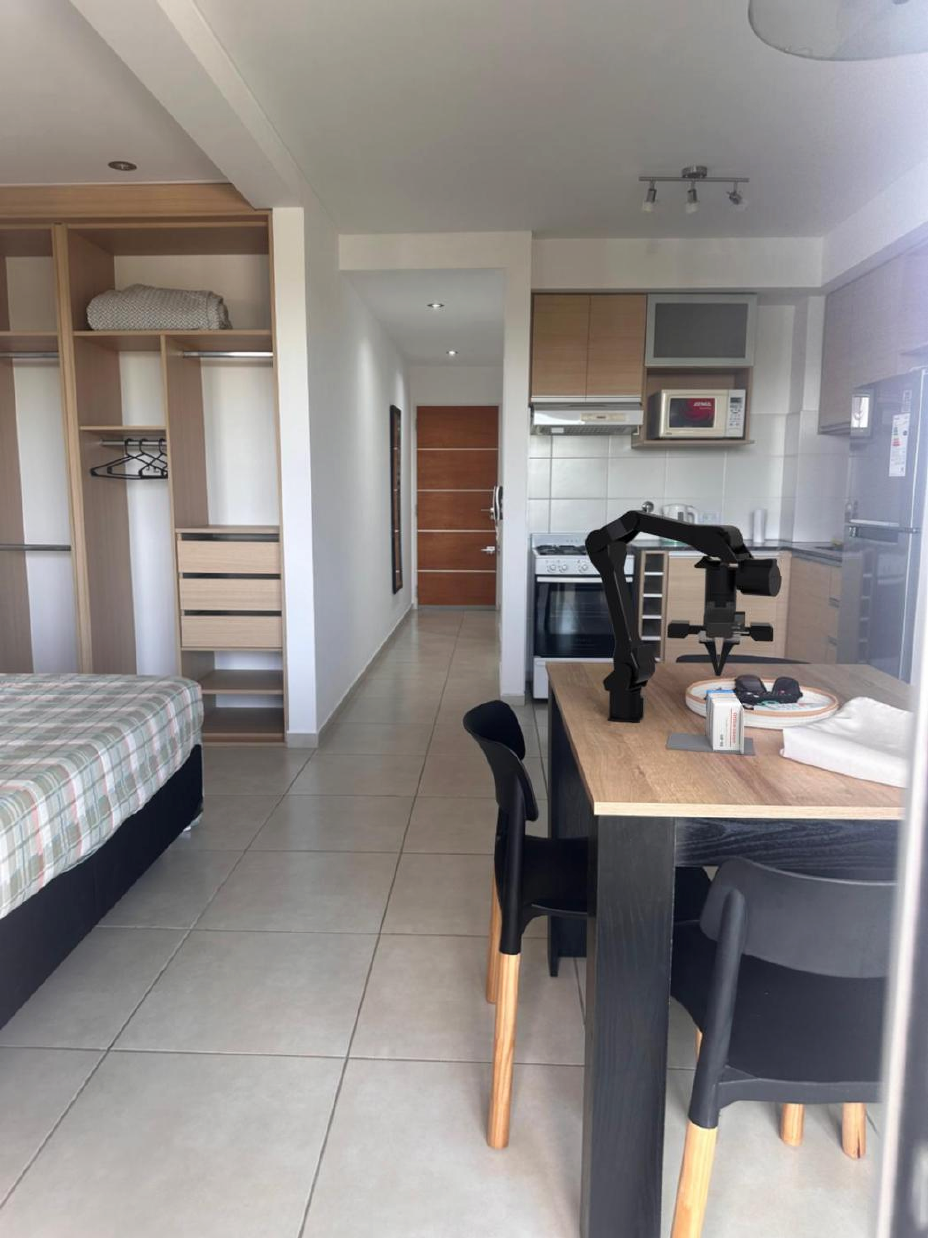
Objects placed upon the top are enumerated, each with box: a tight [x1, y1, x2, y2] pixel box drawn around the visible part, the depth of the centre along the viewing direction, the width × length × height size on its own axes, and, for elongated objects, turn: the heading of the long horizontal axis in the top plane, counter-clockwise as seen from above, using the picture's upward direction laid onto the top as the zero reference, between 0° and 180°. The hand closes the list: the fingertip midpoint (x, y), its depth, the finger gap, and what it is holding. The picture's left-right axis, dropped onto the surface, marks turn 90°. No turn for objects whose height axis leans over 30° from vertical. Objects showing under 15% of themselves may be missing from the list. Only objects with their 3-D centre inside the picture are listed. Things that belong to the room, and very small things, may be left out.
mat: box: [666, 731, 756, 756], centre depth 152 cm, size 15×10×1 cm, turn 73°
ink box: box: [705, 689, 745, 755], centre depth 150 cm, size 9×5×15 cm
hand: (718, 675), depth 156 cm, fingers closed
